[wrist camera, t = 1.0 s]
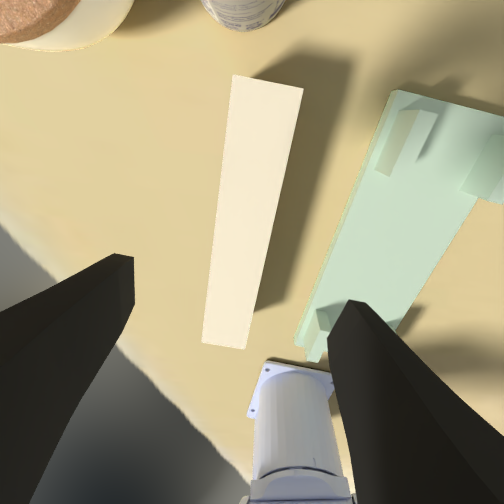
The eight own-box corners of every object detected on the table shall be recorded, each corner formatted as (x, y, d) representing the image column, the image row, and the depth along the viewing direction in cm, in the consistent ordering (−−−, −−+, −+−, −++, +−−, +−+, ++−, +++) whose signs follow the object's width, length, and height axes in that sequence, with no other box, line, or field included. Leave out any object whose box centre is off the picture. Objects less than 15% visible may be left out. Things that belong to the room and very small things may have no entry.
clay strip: (248, 312, 25) (244, 349, 21) (211, 306, 25) (201, 342, 21) (295, 95, 17) (303, 88, 13) (241, 84, 17) (232, 74, 13)
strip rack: (372, 353, 26) (386, 385, 23) (293, 337, 26) (297, 367, 23) (512, 122, 17) (568, 123, 14) (391, 91, 16) (420, 84, 13)
